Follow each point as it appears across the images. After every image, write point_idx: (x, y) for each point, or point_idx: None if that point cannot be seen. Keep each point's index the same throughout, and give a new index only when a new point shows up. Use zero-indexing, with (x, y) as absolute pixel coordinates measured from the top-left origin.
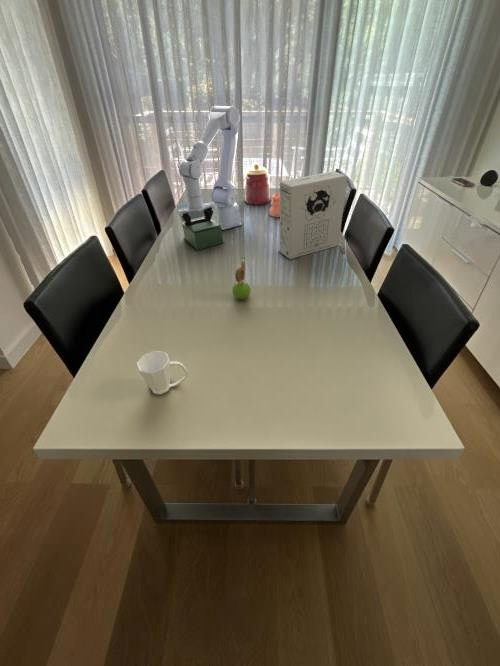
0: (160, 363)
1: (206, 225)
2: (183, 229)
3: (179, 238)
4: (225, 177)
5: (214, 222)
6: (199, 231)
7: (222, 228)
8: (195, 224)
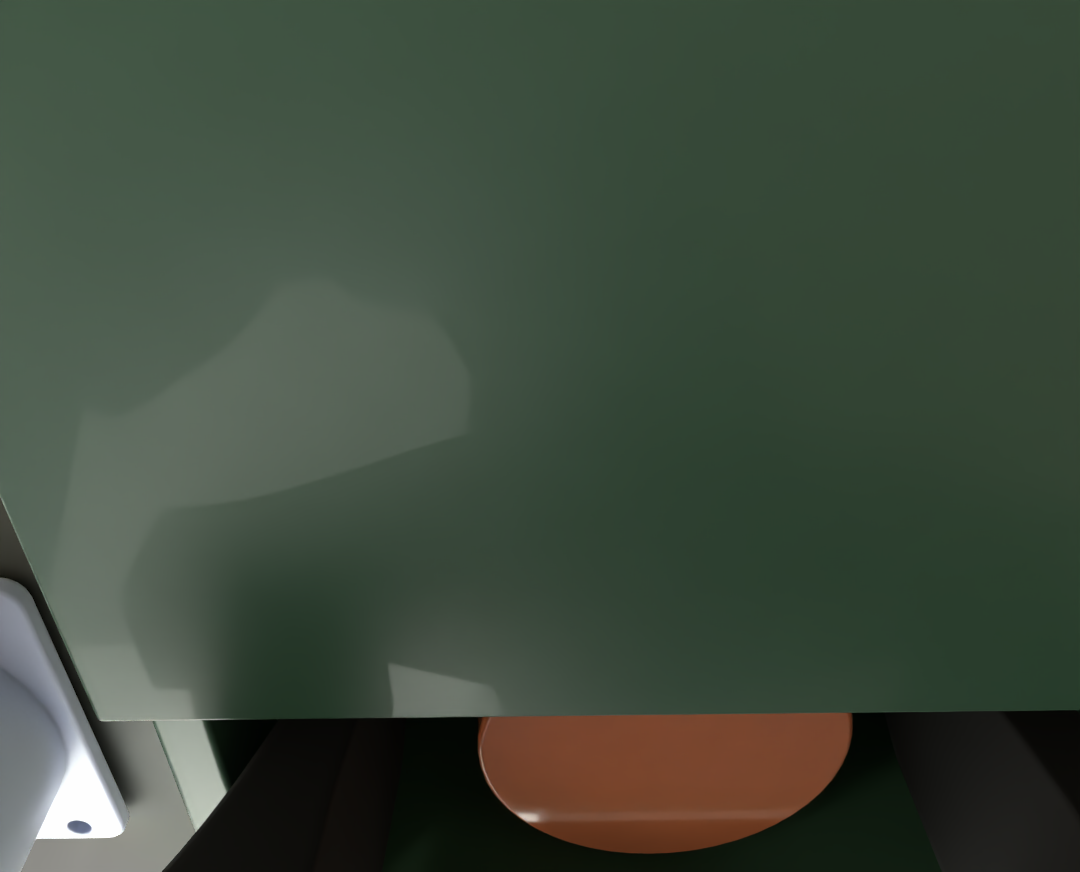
0: None
1: (673, 369)
2: None
3: None
4: None
5: (128, 482)
6: None
7: (1, 613)
8: (719, 819)
